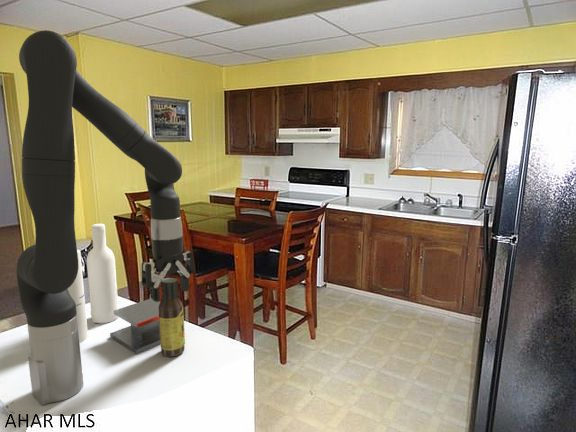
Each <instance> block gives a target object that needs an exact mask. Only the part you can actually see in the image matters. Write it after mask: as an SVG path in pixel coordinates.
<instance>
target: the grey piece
mask: <svg viewBox="0 0 576 432" xmlns="http://www.w3.org/2000/svg"><path fill="white" fill-rule="evenodd" d="M160 302H161V301H158V302H155V301H153V299H151V298H148V299H145V300H142V301H138V302H136V303H134V304H133V303H132V304H130V305H127V306H123V307H121V308H119V309H117V310H114V314H115V315H116V316H118V318H120V319H121V320H123V321H125V322H126V323H128V324H130V325H129V326H125V327H124V328H121V329H118V330H115V331H112V332H110V333H109V337H110V338H111V339H112V340H114V341H115V342H116V343H119V344H120V345H121V346H123V347H125V348H126V349H128V350H129V351H131V352H132V353H133V354H135V355H139V354H141V353H143V352H146V351H147V350H150V349H152V348H155V347H157V346H159V345H160V330H159V304H160Z"/></svg>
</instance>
